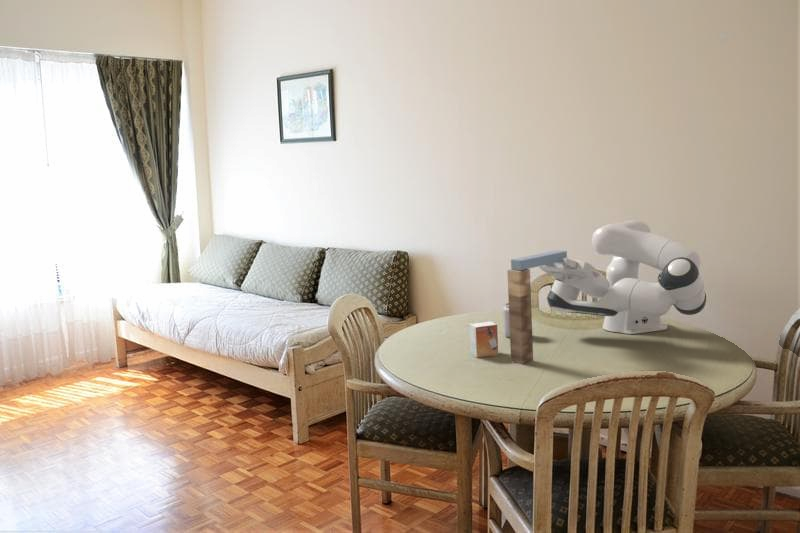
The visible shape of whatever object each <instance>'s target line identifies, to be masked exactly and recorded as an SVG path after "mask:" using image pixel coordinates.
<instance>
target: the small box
mask: <svg viewBox="0 0 800 533" xmlns="http://www.w3.org/2000/svg"><path fill="white" fill-rule="evenodd" d="M469 339H470V340H469V341H470V343H469V344H470V354H471V355H472V356H474V357H476V358H482V357H489V356H491V355H492V356H497V354H498V355H499V342H498V341H499V338H498V324H496V323H495V322H493V321H492V320H490V321H485V322H479V323H469Z"/></svg>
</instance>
